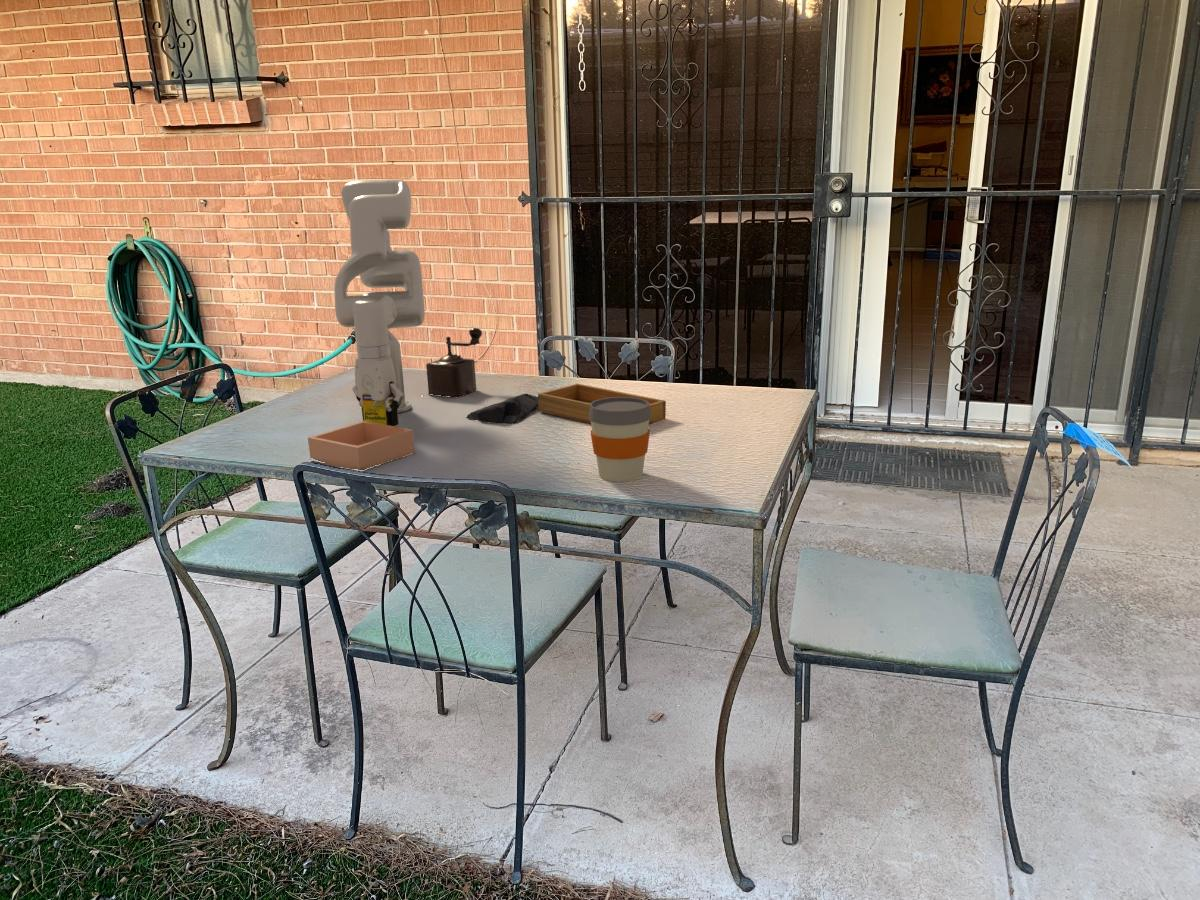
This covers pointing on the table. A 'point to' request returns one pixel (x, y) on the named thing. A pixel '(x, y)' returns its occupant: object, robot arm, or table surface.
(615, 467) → the reusable coffee cup
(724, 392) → the table surface
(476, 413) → the dark slate chunk
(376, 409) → the supplement box
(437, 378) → the manual coffee grinder
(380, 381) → the robot arm
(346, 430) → the planter box
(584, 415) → the tray
